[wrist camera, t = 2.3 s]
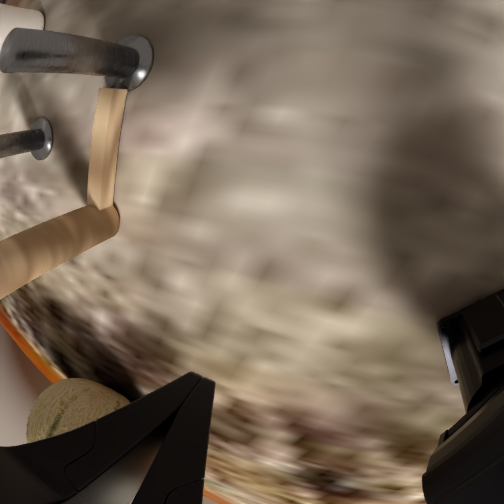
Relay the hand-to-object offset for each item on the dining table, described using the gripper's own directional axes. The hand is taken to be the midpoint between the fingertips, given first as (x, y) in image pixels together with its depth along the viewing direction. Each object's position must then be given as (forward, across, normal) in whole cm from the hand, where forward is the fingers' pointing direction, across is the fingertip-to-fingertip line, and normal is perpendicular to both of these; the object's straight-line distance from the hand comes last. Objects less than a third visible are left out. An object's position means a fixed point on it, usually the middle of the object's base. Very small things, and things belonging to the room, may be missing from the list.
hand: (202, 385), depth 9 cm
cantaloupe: (+12, +13, +26) cm, 32 cm away
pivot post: (+12, +14, -10) cm, 21 cm away
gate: (+12, +14, -2) cm, 18 cm away
